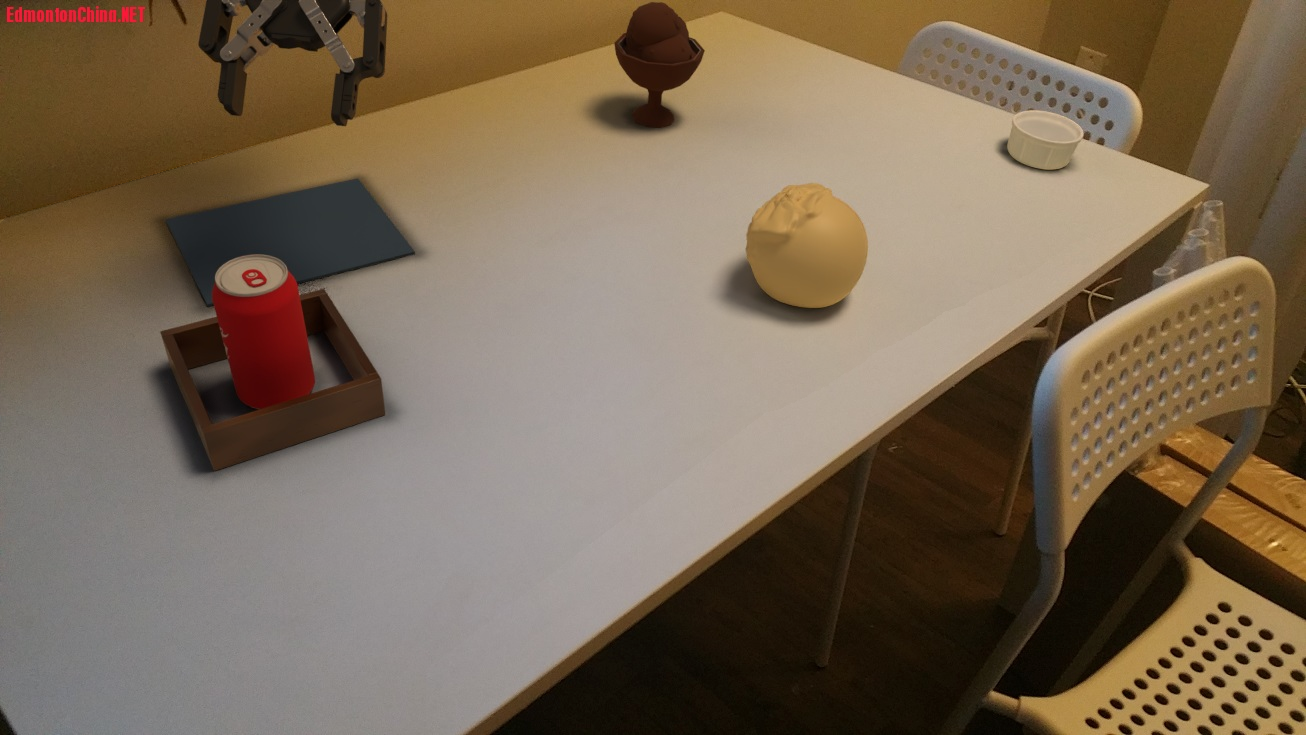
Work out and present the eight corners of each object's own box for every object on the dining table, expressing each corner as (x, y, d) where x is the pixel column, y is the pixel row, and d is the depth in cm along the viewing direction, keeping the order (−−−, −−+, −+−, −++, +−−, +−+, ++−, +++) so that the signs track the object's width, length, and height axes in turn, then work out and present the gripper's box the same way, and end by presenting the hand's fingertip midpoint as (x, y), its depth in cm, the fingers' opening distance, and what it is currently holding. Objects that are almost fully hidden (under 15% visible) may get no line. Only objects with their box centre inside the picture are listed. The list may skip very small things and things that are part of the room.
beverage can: (296, 357, 86) (274, 241, 78) (329, 397, 82) (309, 280, 74) (225, 384, 82) (194, 265, 75) (255, 427, 79) (226, 307, 71)
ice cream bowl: (697, 140, 123) (712, 22, 114) (608, 133, 123) (616, 13, 113) (694, 102, 131) (708, -11, 122) (611, 96, 131) (618, -19, 121)
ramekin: (1062, 180, 124) (1075, 149, 121) (994, 157, 127) (1004, 126, 124) (1078, 154, 130) (1091, 124, 127) (1013, 133, 133) (1023, 103, 130)
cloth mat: (207, 306, 90) (207, 304, 90) (165, 221, 100) (165, 218, 99) (415, 254, 99) (415, 251, 99) (358, 180, 109) (358, 178, 109)
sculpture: (765, 243, 106) (782, 153, 99) (870, 280, 103) (896, 190, 96) (720, 294, 98) (735, 200, 91) (832, 337, 95) (856, 243, 88)
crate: (214, 471, 75) (203, 433, 72) (170, 368, 83) (159, 331, 81) (385, 414, 81) (381, 378, 79) (329, 323, 90) (324, 288, 87)
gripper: (202, -109, 77) (175, 93, 75) (385, -90, 77) (362, 110, 76) (238, -59, 84) (215, 125, 83) (405, -43, 85) (385, 141, 83)
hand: (285, 118), depth 79 cm, fingers open, 8 cm apart
